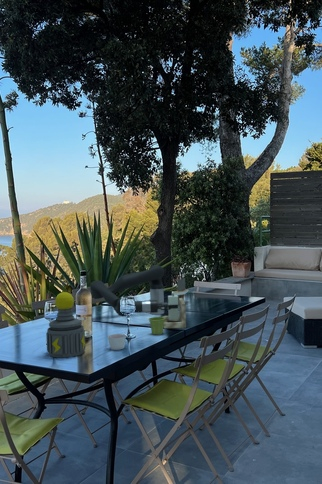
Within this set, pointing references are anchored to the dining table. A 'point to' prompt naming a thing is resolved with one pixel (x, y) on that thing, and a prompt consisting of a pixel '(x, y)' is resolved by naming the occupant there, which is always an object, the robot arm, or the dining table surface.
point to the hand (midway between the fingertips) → (177, 305)
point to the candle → (116, 341)
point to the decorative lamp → (65, 330)
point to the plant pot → (157, 325)
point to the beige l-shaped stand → (181, 317)
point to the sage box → (173, 313)
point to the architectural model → (180, 289)
